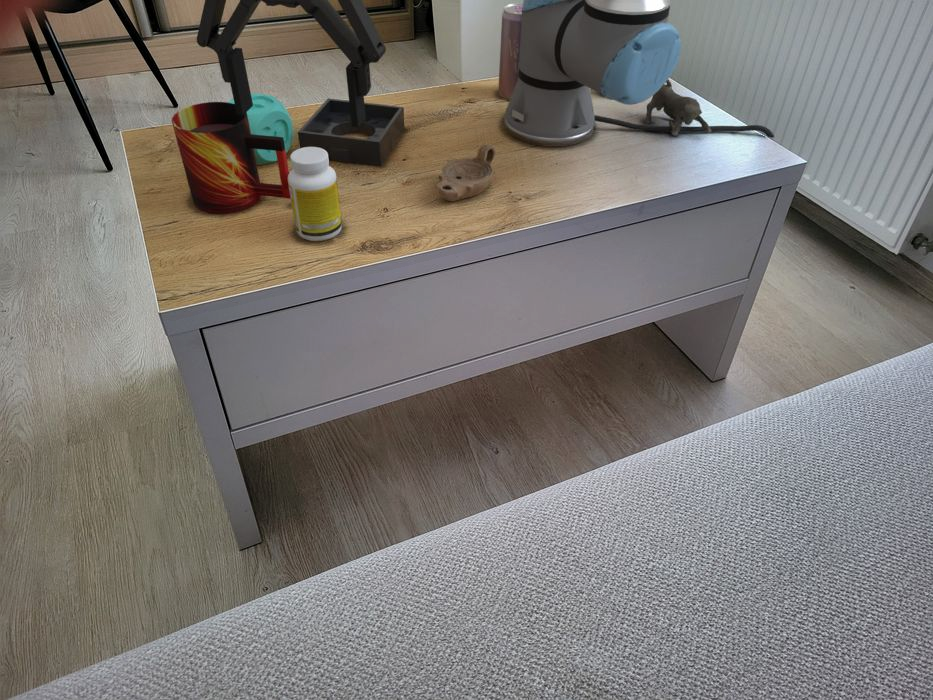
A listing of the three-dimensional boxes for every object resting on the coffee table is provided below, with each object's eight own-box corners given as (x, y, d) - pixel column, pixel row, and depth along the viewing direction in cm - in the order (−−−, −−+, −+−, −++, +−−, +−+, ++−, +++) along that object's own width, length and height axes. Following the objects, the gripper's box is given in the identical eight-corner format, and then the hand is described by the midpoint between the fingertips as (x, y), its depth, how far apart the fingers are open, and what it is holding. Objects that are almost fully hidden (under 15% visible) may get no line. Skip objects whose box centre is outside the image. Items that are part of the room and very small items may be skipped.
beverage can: (530, 89, 134) (537, 3, 124) (529, 102, 130) (536, 14, 120) (499, 87, 135) (503, 2, 125) (497, 100, 130) (501, 12, 120)
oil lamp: (460, 215, 101) (461, 183, 97) (419, 198, 104) (418, 166, 101) (512, 179, 109) (514, 148, 105) (473, 164, 112) (474, 134, 108)
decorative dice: (224, 155, 112) (213, 105, 107) (263, 137, 117) (254, 88, 112) (259, 170, 109) (249, 120, 103) (297, 151, 113) (290, 102, 108)
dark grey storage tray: (404, 129, 120) (403, 106, 118) (381, 166, 111) (379, 142, 108) (330, 121, 122) (327, 98, 120) (300, 156, 113) (297, 132, 110)
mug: (295, 205, 102) (282, 125, 94) (193, 218, 99) (171, 136, 91) (288, 173, 108) (275, 96, 100) (192, 184, 105) (172, 105, 97)
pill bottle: (352, 229, 97) (344, 154, 90) (316, 248, 94) (305, 171, 86) (322, 213, 100) (312, 139, 93) (286, 230, 97) (273, 155, 89)
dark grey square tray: (405, 129, 120) (404, 118, 119) (381, 166, 111) (380, 154, 109) (330, 120, 122) (328, 109, 121) (300, 156, 113) (298, 144, 111)
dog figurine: (638, 118, 126) (646, 76, 121) (663, 112, 128) (672, 70, 123) (685, 146, 118) (696, 102, 113) (711, 139, 120) (722, 95, 115)
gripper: (124, -102, 66) (183, 119, 80) (385, -86, 62) (398, 142, 77) (165, -117, 71) (214, 92, 86) (408, -103, 68) (416, 112, 82)
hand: (301, 116), depth 81 cm, fingers open, 13 cm apart
